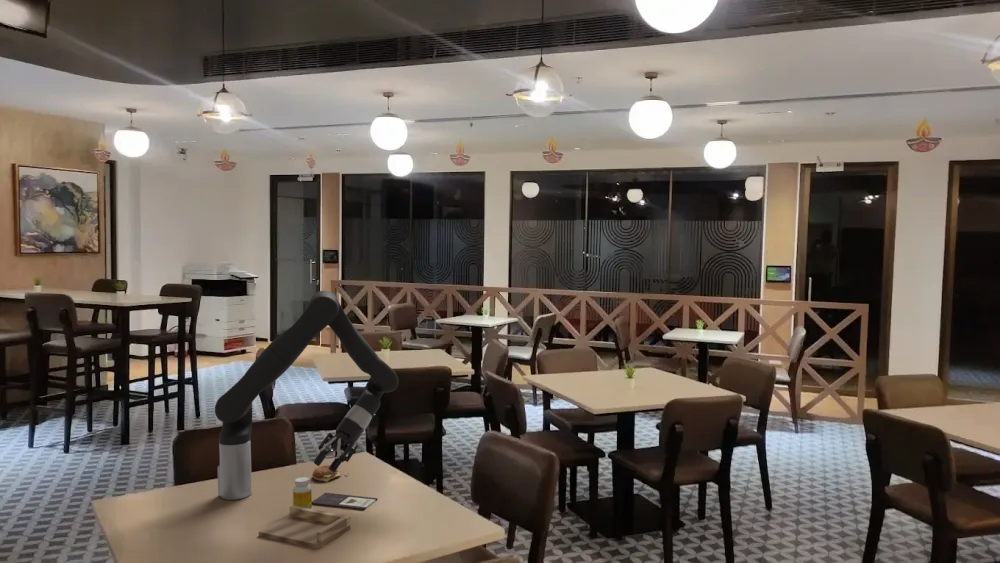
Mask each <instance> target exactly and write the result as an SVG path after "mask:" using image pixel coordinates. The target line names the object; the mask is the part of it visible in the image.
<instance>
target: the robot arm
mask: <svg viewBox="0 0 1000 563" xmlns="http://www.w3.org/2000/svg"><path fill="white" fill-rule="evenodd" d="M326 327H329V328H330V329H331V330H332V332H333V333H334V335H335V336H336V337H337V338H338V340H339V341H340V343H341V344H342V347H343V348H344V350H345V351H346V353H347V355H348V356H349V357H350V359H351V360H352V361H353V363H355V366H357V367H358V368H359V370H360V371H361V372H363V373H364V374H367V375H368V376H370V377H369V379H368V381H367V382H366V385H365V387H364V388H363V391H362V394H361V395H360V396H359V398H358V399H357V400H356V402H355V403H354V405H353V406H352V407H351V408H350V409H349V410H348V411H347V413H346V414H345V416H344V417H343V419H342V420H341V421H340V423H339V424H338V426H337V427H336V432H337V433H336V434H332V433H331V432H329V433H328V434H327V435H326V436H325V438H324V439H322V441H321V443H320V444H319V445H318V447H317V449H318V450H319V453H318V455H317V456H316V457H315V458H314V460H313V464H314V465H316V466H318V467H320V466H321V465H322V462H323V461H324V460H325V458H326V457H327V456H328V455H330V454H331V453H332V454H333V453H334V452H335V453H336V452H337V454H336V457H335V458H334V460H332V462H331V464H329V465H330V467H329V470H330V471H332V472H335V471H336V470H338V469H339V467H340V465H341V464H342V463H344V462H346V463H348V462H349V461H350V459H351V458H352V457H353V454H354V453H355V452H356V450H357V449H358V448H359V445H358V443H357V441H358V440H359V439H360V437H361V436H362V434H363V433H364V432H365V430H366V429H367V428H368V426H369V424H370V423H371V420H372V418H373V417H374V416H375V414H376V413H377V412H378V410H379V408H380V407H381V403H382V402H381V398H382V397H383V394H384V393H391V392H394V391H395V390H396V389H397V388H398V386H399V382H400V380H399V377H398V375H397V373H396V371H395V370H393V369H392V368H391V366H390V365H389V364H387V363H386V362H385V361H384V360H382V358H381V357H379V355H378V354H377V353H376V351H375V350H374V349H373V348H372V347H371V345H370V344H369V343H368V341H366V339H365V338H364V337H363V336H362V334H361V333H360V332H359V331H358V329H357V328H356V327H355V326H354V325H353V323H352V322H351V320H350V319H349V317H348V316H347V314H346V313H345V310H344V309H343V307H342V305H341V303H340V301H339V299H338V297H337V296H336V295H335V294H334V293H333V292H331V291H328V290H318V291H316V292H315V293H314V294H313V295H312V296H311V298H310V300H309V303H308V305H307V307H306V309H305V310H304V312H303V313H302V314H301V315H300V317H299V318H298V319H297V320H296V322H294V324H293V325H292V326H290V327H288V328H287V329H286V330H284V331H283V332H282V333H281V334H279V335H278V336H277V337H276V338H275V339H274V340H272V341H271V342H270V344H269V345H268V346H267V347H266V348H265V349H264V350H263V351H262V352H261V353H260V355H259V356H258V357H257V358H256V359H255V361H253V363H252V364H251V366H250V367H249V368H248V369H247V371H246V372H245V373H244V375H243V376H242V377H241V378H240V379H239V380H238V381H237V382H236V383H235V384H234V385H233V386H232V387H230V388H229V389H228V390H227V391H226V392H224V393H223V394H222V395H221V396H219V398H218V399H217V401H216V402H215V405H214V406H215V407H214V414H215V417H216V418H217V420H219V421H220V422H221V423H222V424H221V425H222V426H221V429H220V432H219V435H218V445H219V446H218V448H219V449H218V450H219V465H218V466H217V494H218V495H217V496H218V497H220V498H221V499H224V500H228V501H231V500H241V499H244V498H248V497H250V496H251V495H252V490H253V487H252V451H251V449H252V448H251V447H252V444H251V443H252V442H251V435H252V434H251V433H252V429H253V402H254V400H255V399H256V398H257V397H258V396H259V395H260V394H261V393H262V392H263V391H264V390H266V389H267V388H268V387H269V386H271V385H272V384H273V383H274V382H275V381H277V380H278V379H279V378H280V377H281V376H282V375H283V374H285V372H286V371H287V370H288V369H290V367H291V366H292V365H293V364H294V363H295V362H296V360H297V359H298V358H299V357H300V355H301V354H302V353H303V352H304V351H305V349H306V348H307V347H308V346H309V344H311V341H312V340H313V339H314V338H315V337H316V336H318V335H319V334H320V333H321V332H322V331H323V330H324V329H325V328H326Z"/></svg>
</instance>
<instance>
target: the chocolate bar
mask: <svg viewBox="0 0 1000 563" xmlns="http://www.w3.org/2000/svg"><path fill="white" fill-rule="evenodd" d="M377 501H378V498H377V497H371V496H370V497H368V496H361V495H350V494H341V493H332V492H324V493H323V494H322V495H320V496H318V497H317V498H315V499H314V500H313V501H312V506H321V507H329V508H340V509H347V510H355V511H356V510H357V511H366V510H367V509H368V508H369V507H370V506H372V505H373V504H374V503H376V502H377Z"/></svg>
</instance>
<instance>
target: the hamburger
mask: <svg viewBox="0 0 1000 563" xmlns="http://www.w3.org/2000/svg"><path fill="white" fill-rule="evenodd" d="M330 465H331V464H327V465H320V466H318V467H316V468H315V469H314V470H313V472H312V475H311V479H314V480H315V481H317V480H318V482H325V483H328V482H329V481H332V480H334V479H335V478H336V477H339V476H340V475H341V473H340V472H339V471H338V470H339V469H337V470H336V471H335V472H332V471H330V470H329V467H330ZM343 475H344V476H343V477H345V476H346V477H348V476H347V475H348V474H343ZM331 479H332V480H331Z"/></svg>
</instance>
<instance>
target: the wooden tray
mask: <svg viewBox="0 0 1000 563" xmlns="http://www.w3.org/2000/svg"><path fill="white" fill-rule="evenodd" d="M349 530H351V515H347V514H346V515H345V514H341V513H337V512H332V511H331V512H330V511H325V510H319V509H314V508H312V509H310V508H305V507H299V506H294V505H293V504H292V505H291V506H289V515H288V516H286V517H284V518H282V519H281V520H280V519H279V520H278V521H276V522H274V523H273V524H271V525H269V526H266V527H265V528H262V529H261V530H259V531H258V537H261V538H262V537H263V538H265V539H271V540H276V541H279V542H285V543H289V544H293V545H299V546H303V547H306V548H307V547H308V548H312V549H316V550H319V549H320V548H322V547H323V546H325V545H327V544H329V543H330V542H331V541H333V540H335V539H336V538H338V537H340V536H341V535H343V534H345V533H346V532H347V531H349Z"/></svg>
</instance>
